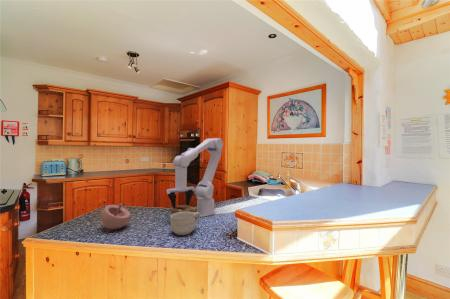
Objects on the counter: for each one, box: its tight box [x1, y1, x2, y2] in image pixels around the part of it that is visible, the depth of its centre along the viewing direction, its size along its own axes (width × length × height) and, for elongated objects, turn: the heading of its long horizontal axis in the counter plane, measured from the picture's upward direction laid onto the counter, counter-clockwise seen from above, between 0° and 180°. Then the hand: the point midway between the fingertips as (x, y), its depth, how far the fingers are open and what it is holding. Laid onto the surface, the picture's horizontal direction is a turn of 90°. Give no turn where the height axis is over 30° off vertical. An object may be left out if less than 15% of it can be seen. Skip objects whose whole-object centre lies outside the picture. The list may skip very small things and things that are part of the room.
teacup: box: [169, 211, 202, 236], centre depth 91 cm, size 14×11×8 cm
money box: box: [170, 204, 197, 221], centre depth 105 cm, size 9×10×6 cm
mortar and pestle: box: [100, 202, 132, 230], centre depth 94 cm, size 12×12×12 cm
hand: (180, 206), depth 104 cm, fingers open, 7 cm apart
